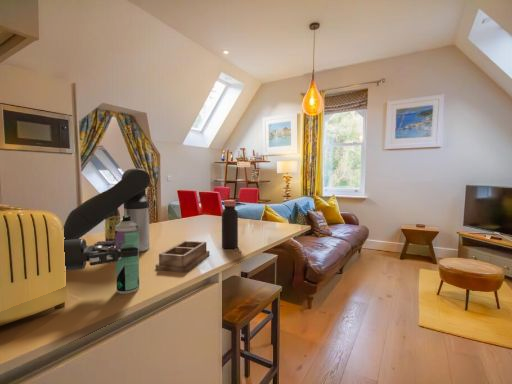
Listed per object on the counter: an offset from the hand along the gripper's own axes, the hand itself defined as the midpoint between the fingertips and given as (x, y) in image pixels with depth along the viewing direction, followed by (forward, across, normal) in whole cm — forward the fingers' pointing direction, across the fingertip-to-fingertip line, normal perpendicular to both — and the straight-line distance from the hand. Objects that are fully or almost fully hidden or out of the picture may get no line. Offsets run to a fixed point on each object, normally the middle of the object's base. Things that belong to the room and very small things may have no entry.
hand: (137, 248), depth 71 cm
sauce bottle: (-11, -60, -11) cm, 62 cm away
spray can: (-3, 0, -11) cm, 11 cm away
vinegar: (+36, -29, -11) cm, 47 cm away
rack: (+15, -18, -11) cm, 26 cm away
